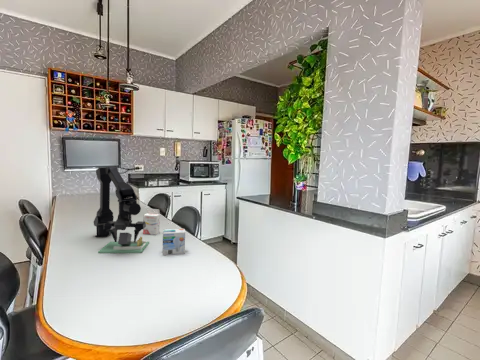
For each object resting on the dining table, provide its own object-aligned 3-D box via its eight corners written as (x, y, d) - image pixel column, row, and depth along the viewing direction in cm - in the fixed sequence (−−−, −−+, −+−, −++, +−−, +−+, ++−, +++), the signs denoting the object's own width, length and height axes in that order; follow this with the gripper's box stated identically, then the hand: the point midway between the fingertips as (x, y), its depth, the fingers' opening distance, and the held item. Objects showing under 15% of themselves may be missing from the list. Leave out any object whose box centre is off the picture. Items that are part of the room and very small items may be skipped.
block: (118, 243, 121) (119, 232, 123) (122, 245, 127) (123, 234, 129) (126, 243, 122) (128, 232, 124) (130, 245, 127) (131, 234, 129)
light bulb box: (162, 255, 118) (162, 233, 117) (162, 250, 124) (162, 229, 124) (185, 253, 121) (185, 232, 120) (184, 248, 127) (184, 228, 126)
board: (98, 253, 118) (98, 243, 118) (110, 243, 132) (110, 234, 131) (141, 252, 120) (141, 243, 120) (149, 242, 134) (149, 234, 134)
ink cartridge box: (142, 234, 148) (142, 210, 147) (146, 231, 153) (146, 208, 152) (156, 235, 148) (156, 210, 146) (160, 232, 153) (160, 209, 151)
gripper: (98, 215, 115) (98, 247, 117) (139, 215, 117) (139, 247, 119) (108, 210, 126) (108, 239, 128) (146, 210, 128) (146, 239, 130)
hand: (125, 241), depth 126 cm, fingers open, 9 cm apart
